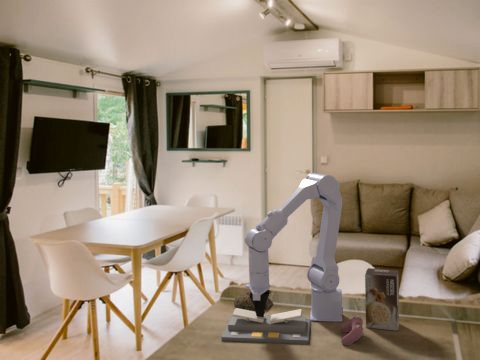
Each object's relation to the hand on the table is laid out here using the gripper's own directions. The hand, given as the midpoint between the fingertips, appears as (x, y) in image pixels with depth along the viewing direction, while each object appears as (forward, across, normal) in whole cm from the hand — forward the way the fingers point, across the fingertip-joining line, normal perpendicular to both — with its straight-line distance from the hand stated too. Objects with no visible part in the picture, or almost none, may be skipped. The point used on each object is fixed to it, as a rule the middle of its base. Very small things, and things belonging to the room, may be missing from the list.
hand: (260, 315), depth 152 cm
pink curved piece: (+4, +4, +26) cm, 27 cm away
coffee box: (+4, -6, +35) cm, 36 cm away
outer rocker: (0, 0, -3) cm, 3 cm away
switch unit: (+4, +2, +2) cm, 5 cm away
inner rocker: (0, 0, +8) cm, 8 cm away
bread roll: (+4, -19, -5) cm, 20 cm away
